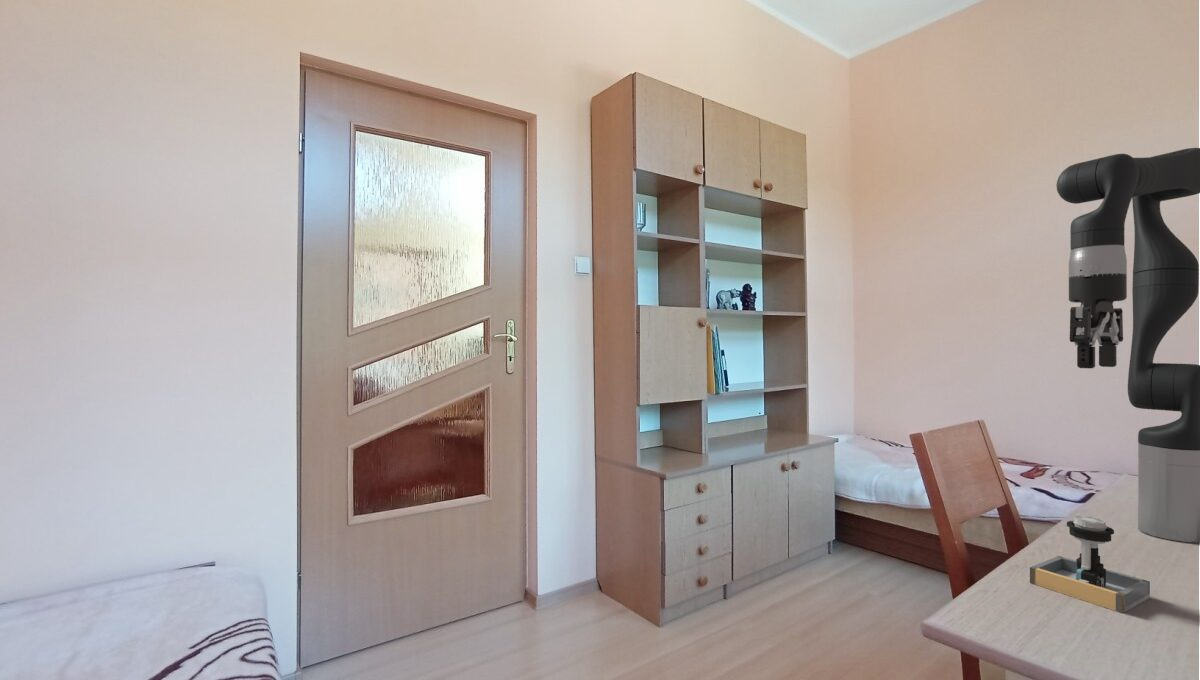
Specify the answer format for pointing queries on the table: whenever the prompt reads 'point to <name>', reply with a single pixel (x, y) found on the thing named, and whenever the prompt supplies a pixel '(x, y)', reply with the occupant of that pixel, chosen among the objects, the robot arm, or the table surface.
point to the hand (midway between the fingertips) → (1097, 367)
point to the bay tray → (1090, 585)
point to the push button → (1090, 548)
